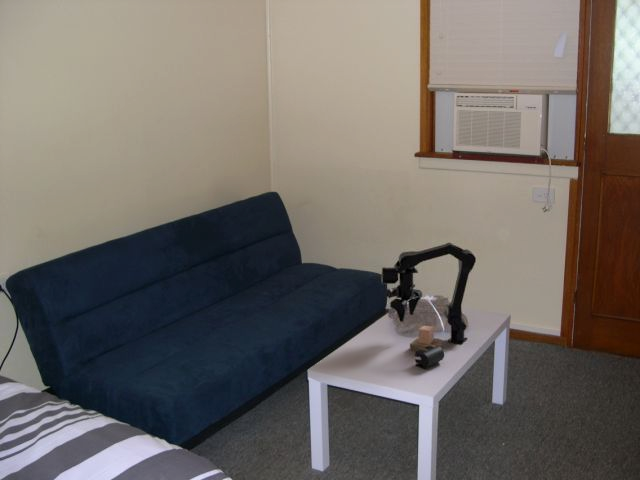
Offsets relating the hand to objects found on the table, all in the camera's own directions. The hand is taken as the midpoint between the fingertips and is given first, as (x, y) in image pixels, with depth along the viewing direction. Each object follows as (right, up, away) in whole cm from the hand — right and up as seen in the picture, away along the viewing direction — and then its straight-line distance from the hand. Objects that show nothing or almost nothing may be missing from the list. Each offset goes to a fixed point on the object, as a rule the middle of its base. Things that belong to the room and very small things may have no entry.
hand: (406, 318), depth 320 cm
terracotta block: (+8, -9, -5) cm, 13 cm away
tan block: (+8, -12, -4) cm, 15 cm away
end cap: (+7, -17, -20) cm, 27 cm away
